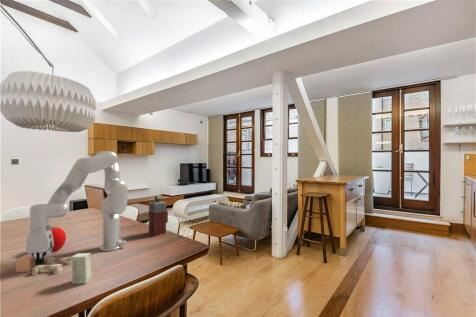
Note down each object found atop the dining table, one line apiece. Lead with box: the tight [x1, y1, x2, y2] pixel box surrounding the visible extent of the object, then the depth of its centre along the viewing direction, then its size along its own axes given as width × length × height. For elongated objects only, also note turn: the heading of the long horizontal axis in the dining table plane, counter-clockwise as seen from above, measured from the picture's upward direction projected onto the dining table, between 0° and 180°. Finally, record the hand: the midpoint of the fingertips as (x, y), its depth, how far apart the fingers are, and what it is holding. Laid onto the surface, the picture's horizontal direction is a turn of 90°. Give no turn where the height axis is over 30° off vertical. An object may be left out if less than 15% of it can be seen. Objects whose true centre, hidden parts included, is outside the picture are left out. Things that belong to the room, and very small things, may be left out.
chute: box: [31, 254, 75, 276], centre depth 119 cm, size 11×14×3 cm
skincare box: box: [71, 252, 92, 285], centre depth 106 cm, size 6×4×12 cm
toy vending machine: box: [148, 195, 169, 237], centre depth 172 cm, size 9×11×28 cm
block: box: [15, 254, 36, 273], centre depth 117 cm, size 6×6×6 cm
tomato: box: [50, 226, 67, 252], centre depth 141 cm, size 13×11×14 cm
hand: (39, 265), depth 118 cm, fingers closed
